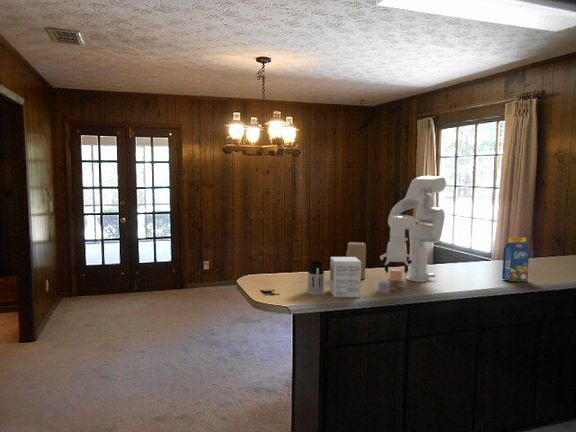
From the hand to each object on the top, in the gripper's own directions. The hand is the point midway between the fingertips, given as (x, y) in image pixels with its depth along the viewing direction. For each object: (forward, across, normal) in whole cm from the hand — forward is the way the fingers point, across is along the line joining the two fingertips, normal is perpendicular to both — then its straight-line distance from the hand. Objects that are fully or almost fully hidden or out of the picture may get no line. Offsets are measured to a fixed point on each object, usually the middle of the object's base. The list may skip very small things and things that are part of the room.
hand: (396, 272), depth 234 cm
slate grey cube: (+8, +7, +8) cm, 14 cm away
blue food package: (+9, -72, -30) cm, 78 cm away
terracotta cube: (+4, 0, 0) cm, 4 cm away
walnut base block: (+9, 0, 0) cm, 9 cm away
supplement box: (+8, +27, +15) cm, 32 cm away
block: (+9, +19, -24) cm, 32 cm away
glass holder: (+8, +41, +17) cm, 45 cm away
